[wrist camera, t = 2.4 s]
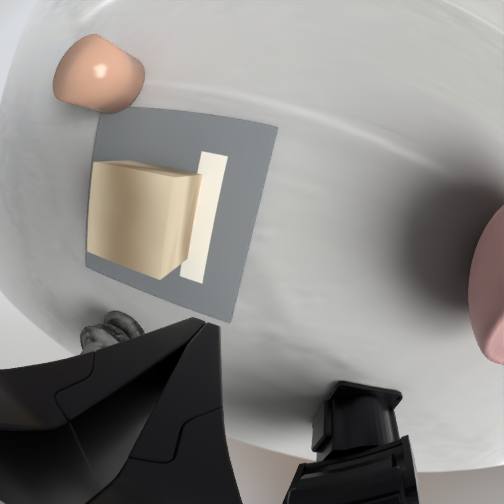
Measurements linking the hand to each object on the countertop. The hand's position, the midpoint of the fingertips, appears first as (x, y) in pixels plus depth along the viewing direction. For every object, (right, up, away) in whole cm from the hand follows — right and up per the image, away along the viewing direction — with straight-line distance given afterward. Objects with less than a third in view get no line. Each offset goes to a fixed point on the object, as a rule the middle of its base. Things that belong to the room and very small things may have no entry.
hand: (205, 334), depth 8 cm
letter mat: (-5, +6, +12) cm, 14 cm away
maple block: (-5, +5, +11) cm, 14 cm away
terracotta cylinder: (-9, +15, +9) cm, 20 cm away
